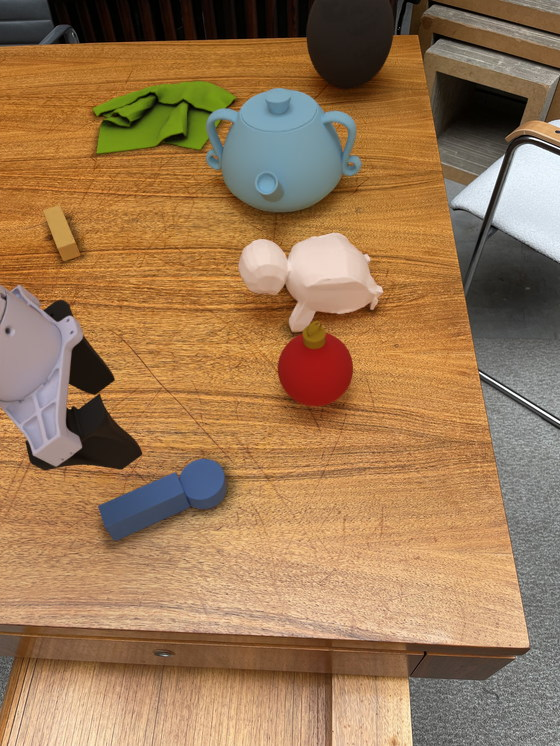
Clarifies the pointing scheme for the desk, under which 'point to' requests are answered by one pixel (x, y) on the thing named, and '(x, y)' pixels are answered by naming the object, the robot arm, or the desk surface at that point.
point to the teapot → (282, 150)
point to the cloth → (160, 116)
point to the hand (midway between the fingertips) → (116, 419)
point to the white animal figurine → (311, 275)
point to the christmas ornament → (315, 367)
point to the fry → (61, 233)
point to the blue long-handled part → (165, 498)
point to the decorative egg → (349, 40)
